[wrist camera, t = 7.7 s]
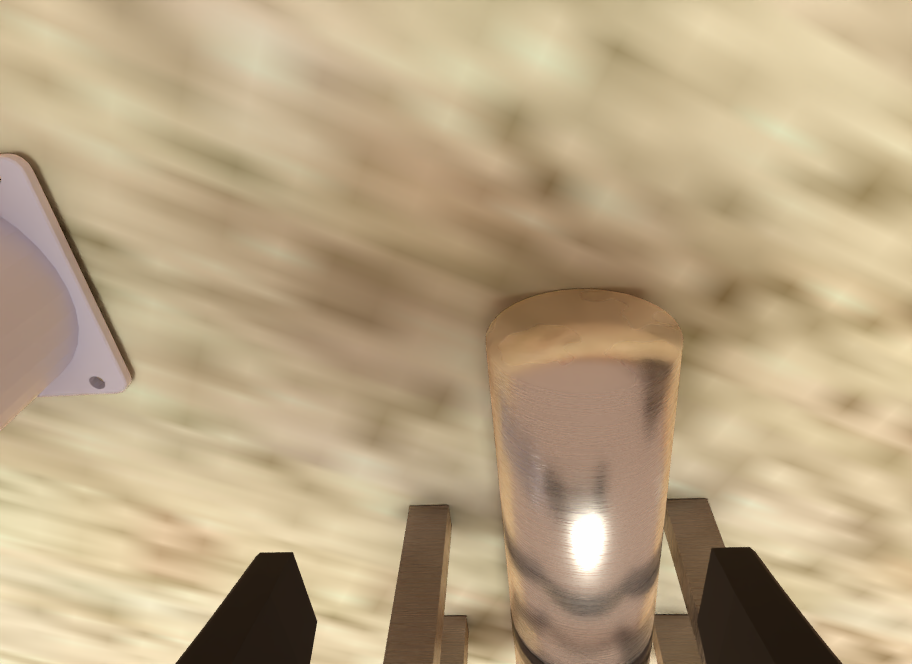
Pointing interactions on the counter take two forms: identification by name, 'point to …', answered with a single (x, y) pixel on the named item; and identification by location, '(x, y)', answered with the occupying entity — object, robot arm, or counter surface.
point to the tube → (583, 469)
